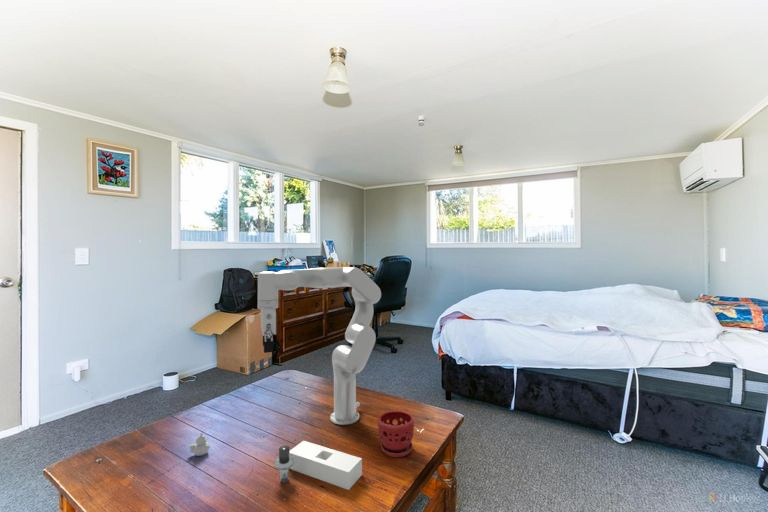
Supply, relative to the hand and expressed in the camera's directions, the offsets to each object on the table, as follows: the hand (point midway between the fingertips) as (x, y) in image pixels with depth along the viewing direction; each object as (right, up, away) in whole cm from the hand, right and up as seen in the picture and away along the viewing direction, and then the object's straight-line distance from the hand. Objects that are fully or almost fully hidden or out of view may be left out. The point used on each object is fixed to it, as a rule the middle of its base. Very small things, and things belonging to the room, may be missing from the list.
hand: (267, 348), depth 131 cm
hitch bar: (+25, -36, -18) cm, 47 cm away
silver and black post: (+13, -36, -22) cm, 44 cm away
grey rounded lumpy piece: (-22, -36, -8) cm, 43 cm away
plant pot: (+49, -36, -5) cm, 61 cm away
